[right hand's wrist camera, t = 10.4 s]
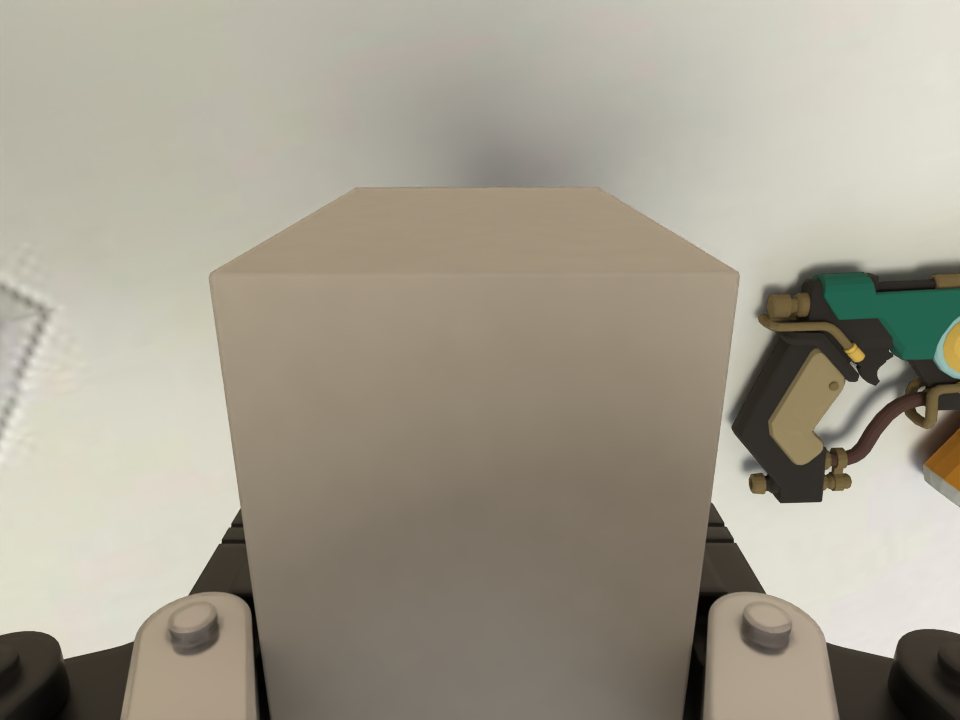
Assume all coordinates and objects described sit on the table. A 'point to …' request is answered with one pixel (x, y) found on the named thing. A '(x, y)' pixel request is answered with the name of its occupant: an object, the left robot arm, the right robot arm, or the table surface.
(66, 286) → the table surface
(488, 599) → the bar
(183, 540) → the table surface
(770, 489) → the spray gun
